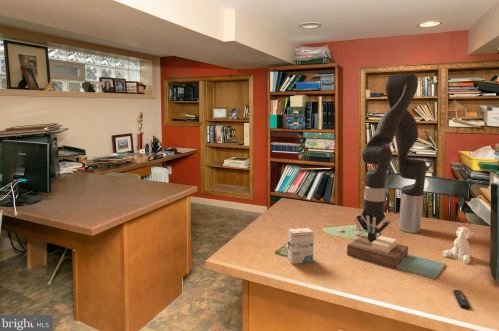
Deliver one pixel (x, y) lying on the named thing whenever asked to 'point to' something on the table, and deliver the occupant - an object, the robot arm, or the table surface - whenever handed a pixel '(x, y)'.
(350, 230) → the green diorama
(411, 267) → the teal mat
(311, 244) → the ink box
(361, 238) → the plate
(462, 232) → the sitting furry creature
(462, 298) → the usb stick
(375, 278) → the table surface
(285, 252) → the smartphone
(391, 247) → the ivory tile
